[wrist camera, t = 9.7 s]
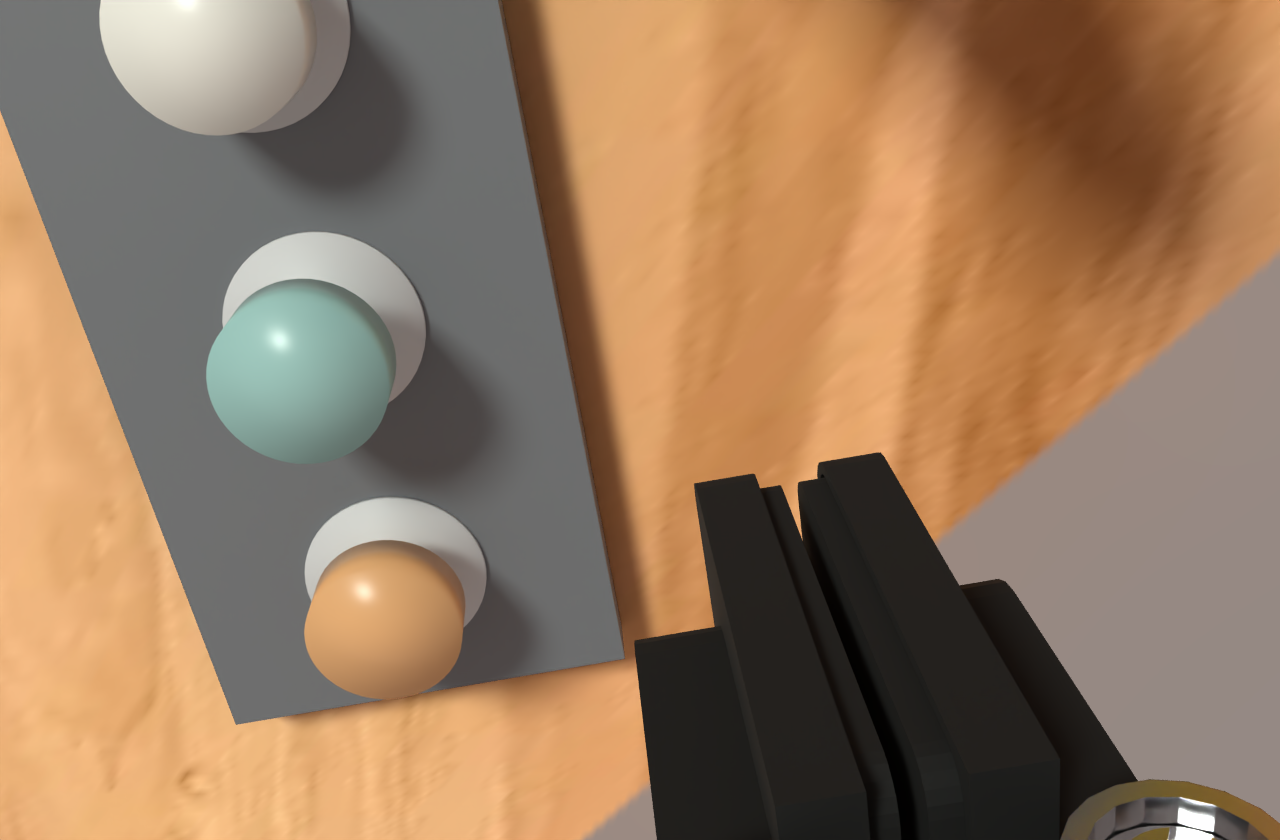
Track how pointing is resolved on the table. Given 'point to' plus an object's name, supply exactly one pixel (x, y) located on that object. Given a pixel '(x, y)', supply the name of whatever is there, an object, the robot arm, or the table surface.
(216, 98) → the cream button
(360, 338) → the teal button
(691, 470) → the table surface
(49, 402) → the table surface
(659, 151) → the table surface
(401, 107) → the button board
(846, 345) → the table surface
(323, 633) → the terracotta button
